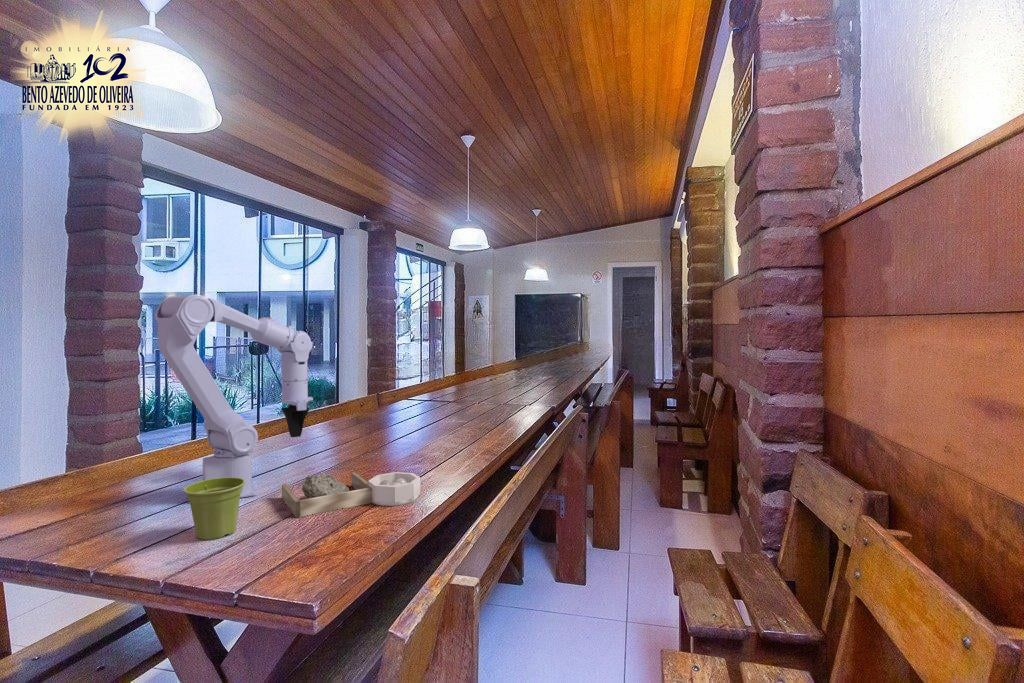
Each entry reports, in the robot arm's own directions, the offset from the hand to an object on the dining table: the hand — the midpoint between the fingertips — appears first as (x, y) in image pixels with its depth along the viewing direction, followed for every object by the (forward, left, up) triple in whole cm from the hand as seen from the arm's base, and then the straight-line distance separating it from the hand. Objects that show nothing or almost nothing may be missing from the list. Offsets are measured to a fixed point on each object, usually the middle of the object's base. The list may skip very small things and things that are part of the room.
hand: (295, 436), depth 124 cm
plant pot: (-19, -28, -10) cm, 35 cm away
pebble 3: (+15, -28, -8) cm, 32 cm away
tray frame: (+2, -21, -10) cm, 23 cm away
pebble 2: (+14, -30, -8) cm, 34 cm away
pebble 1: (+12, -27, -8) cm, 31 cm away
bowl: (+14, -28, -10) cm, 33 cm away
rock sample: (+3, -21, -10) cm, 24 cm away
